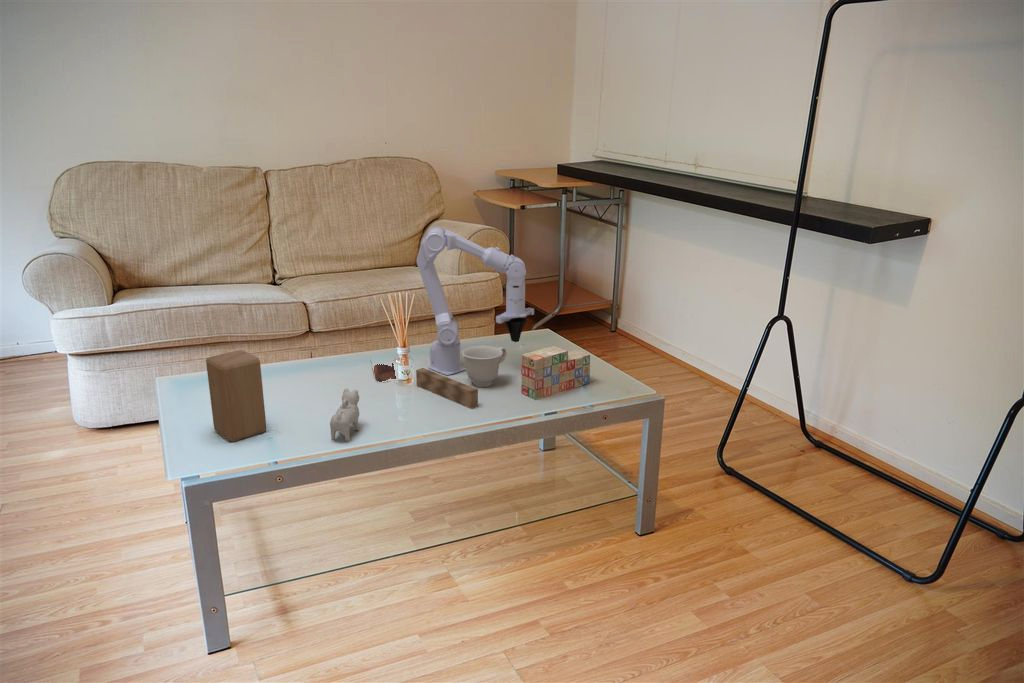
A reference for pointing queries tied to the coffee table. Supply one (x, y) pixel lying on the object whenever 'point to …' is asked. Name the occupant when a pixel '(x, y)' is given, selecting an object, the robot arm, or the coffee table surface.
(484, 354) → the teacup
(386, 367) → the wooden tablet
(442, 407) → the coffee table surface
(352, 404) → the grey animal figure
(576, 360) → the stack of blocks
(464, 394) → the walnut board
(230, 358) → the wooden block
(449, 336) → the robot arm
